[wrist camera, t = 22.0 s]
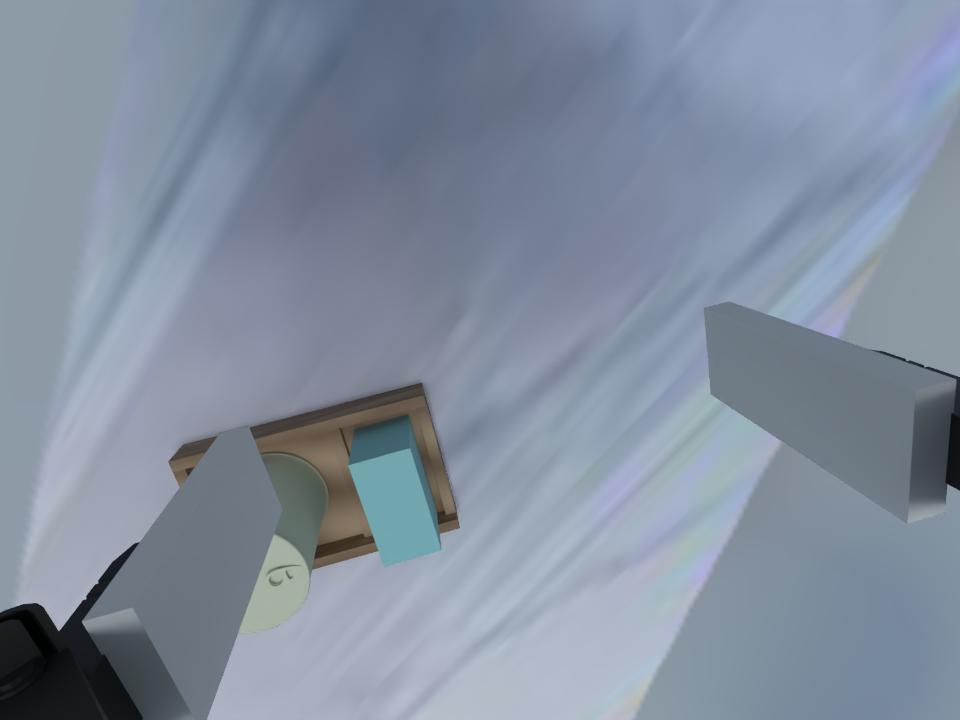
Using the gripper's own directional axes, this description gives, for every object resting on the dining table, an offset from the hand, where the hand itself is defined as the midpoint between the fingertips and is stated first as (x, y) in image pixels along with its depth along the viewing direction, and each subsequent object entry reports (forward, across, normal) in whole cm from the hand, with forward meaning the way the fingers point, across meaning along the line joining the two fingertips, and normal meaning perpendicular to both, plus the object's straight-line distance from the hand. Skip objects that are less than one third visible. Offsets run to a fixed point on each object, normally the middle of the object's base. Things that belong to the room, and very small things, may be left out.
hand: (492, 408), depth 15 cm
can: (+32, -19, -18) cm, 41 cm away
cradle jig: (+33, -14, -18) cm, 40 cm away
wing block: (+32, -8, -18) cm, 37 cm away
